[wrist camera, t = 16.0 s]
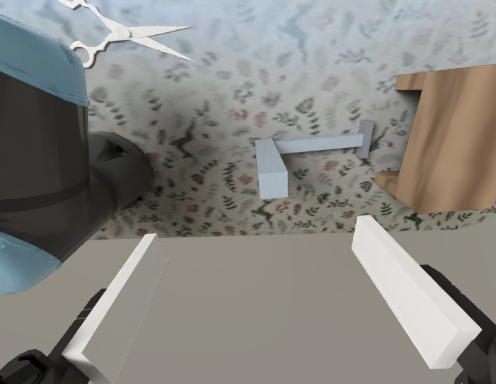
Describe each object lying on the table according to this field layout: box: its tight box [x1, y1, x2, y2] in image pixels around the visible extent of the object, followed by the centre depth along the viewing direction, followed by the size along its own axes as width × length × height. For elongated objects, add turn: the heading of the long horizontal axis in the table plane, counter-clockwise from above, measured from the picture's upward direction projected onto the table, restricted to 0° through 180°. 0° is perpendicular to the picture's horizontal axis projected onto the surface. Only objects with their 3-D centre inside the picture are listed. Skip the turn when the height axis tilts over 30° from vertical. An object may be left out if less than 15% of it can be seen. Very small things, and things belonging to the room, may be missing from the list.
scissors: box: [59, 0, 193, 68], centre depth 28 cm, size 11×1×20 cm
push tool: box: [255, 120, 374, 199], centre depth 27 cm, size 19×6×16 cm, turn 96°
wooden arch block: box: [375, 64, 496, 214], centre depth 29 cm, size 10×18×11 cm, turn 6°
